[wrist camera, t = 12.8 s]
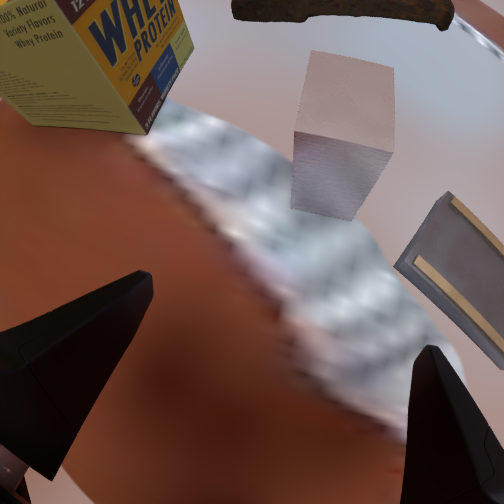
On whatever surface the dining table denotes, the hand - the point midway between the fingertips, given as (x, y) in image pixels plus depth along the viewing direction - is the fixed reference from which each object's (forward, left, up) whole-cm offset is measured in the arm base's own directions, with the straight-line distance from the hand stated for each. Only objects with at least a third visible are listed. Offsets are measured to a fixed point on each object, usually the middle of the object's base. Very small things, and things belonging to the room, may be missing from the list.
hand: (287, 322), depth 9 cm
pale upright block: (+9, -1, -10) cm, 14 cm away
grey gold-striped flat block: (+4, -13, -10) cm, 17 cm away
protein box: (+16, +20, -10) cm, 28 cm away
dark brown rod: (+29, -1, -10) cm, 31 cm away
